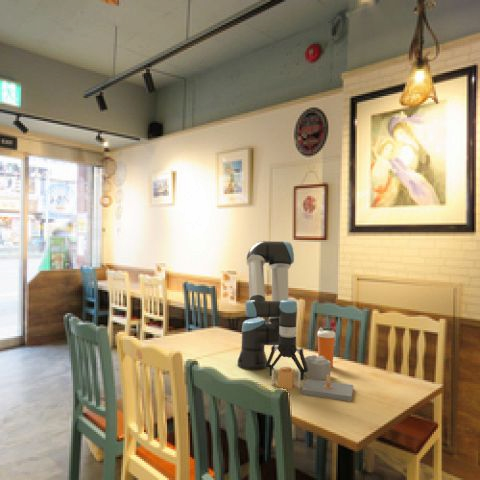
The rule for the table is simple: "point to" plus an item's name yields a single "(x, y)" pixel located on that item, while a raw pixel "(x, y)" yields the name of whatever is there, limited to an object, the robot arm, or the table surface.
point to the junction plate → (328, 389)
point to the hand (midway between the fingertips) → (286, 385)
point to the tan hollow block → (286, 377)
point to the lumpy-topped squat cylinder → (317, 367)
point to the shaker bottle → (326, 343)
